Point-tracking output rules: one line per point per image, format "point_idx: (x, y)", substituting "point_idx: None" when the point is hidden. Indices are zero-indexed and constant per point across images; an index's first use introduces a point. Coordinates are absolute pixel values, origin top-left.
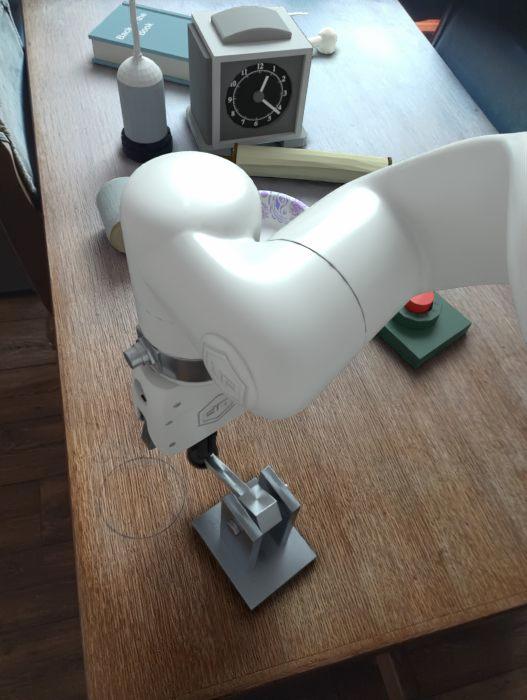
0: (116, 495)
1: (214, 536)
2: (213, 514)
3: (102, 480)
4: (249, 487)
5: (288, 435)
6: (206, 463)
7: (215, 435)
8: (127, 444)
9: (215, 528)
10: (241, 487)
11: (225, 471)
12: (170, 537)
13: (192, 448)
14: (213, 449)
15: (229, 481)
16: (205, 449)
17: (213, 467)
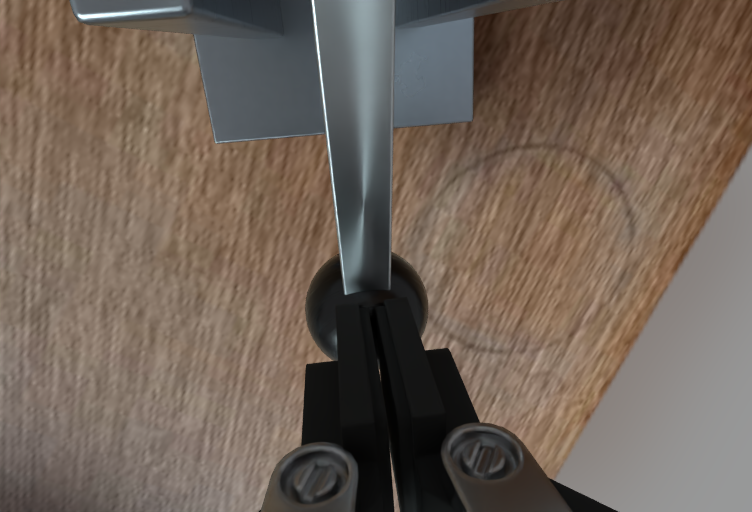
0: (573, 289)
1: (439, 35)
2: (403, 104)
3: (577, 336)
4: (252, 121)
5: (42, 216)
6: (390, 270)
7: (345, 407)
8: (480, 388)
9: (423, 57)
10: (352, 57)
11: (357, 200)
12: (530, 117)
13: (448, 369)
14: (349, 316)
15: (380, 138)
16: (400, 341)
17: (385, 243)
